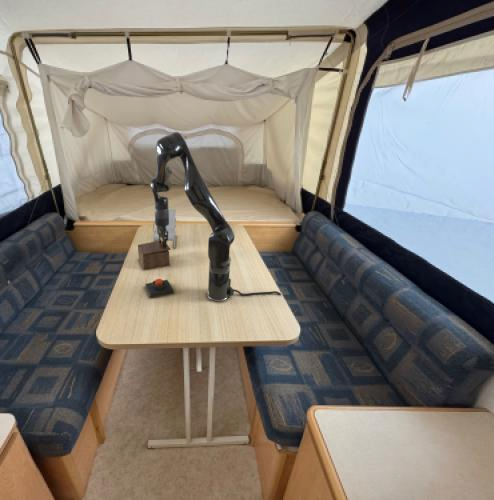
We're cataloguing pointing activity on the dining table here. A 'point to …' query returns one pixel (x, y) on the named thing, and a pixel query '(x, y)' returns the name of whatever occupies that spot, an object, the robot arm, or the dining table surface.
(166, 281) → the control block
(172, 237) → the chair
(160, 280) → the button
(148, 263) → the chest
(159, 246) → the lid
